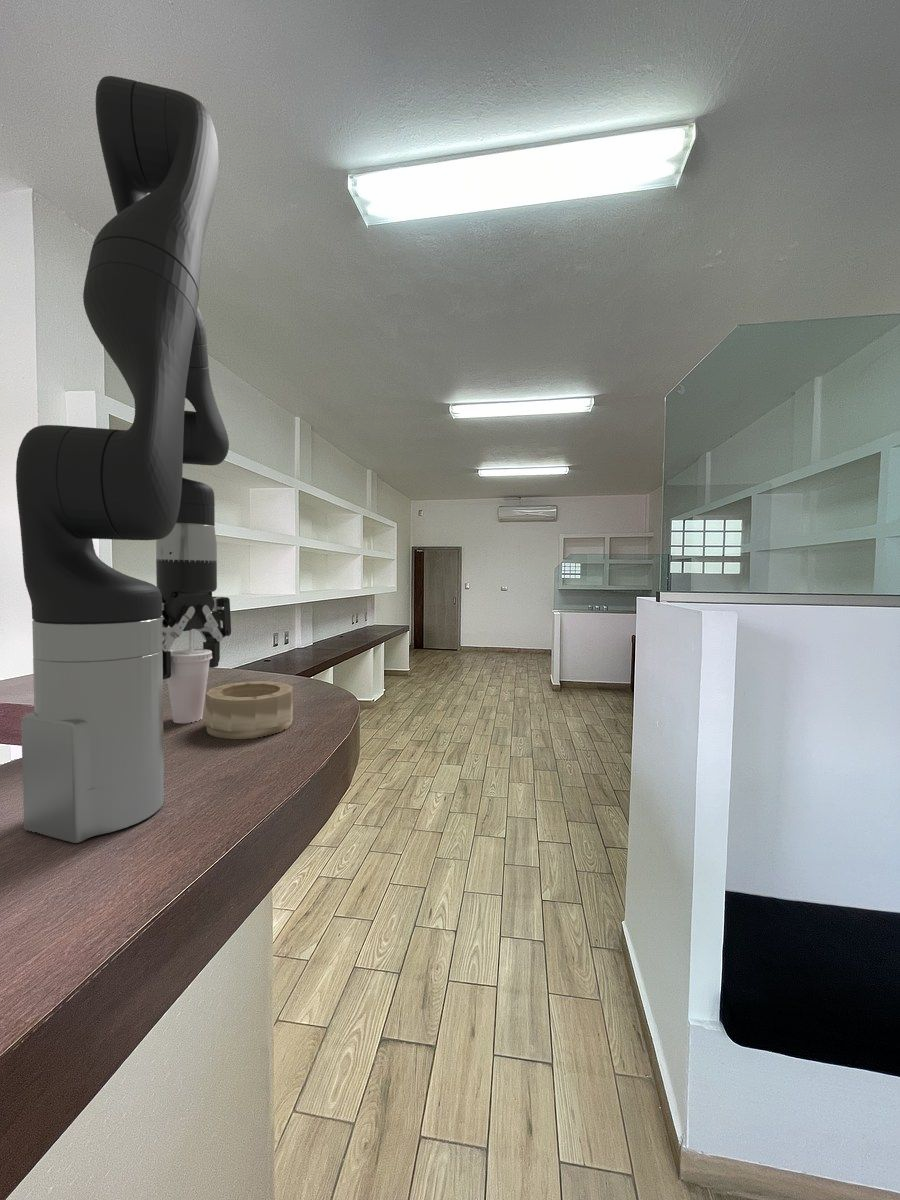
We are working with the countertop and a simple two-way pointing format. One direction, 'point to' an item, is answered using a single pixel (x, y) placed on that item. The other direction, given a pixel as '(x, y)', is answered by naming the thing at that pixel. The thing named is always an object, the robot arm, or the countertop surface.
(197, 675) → the smoothie
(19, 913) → the countertop surface
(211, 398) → the robot arm
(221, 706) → the ring
